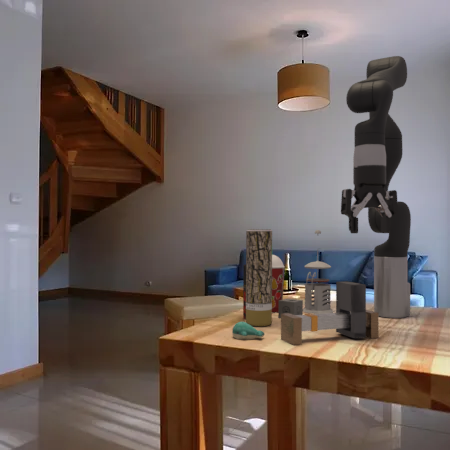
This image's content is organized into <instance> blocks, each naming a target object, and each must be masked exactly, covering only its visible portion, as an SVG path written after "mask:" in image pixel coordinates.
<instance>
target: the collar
mask: <svg viewBox="0 0 450 450" xmlns="http://www.w3.org/2000/svg"><path fill="white" fill-rule="evenodd" d="M335 284H336V285H335V286H336V288H335V293H336V294H335V298H336V299H335V301H336V302H335V309H336V310H335V313H341V312H351V328H339V329H335V333H338V334H341V335H344V336H346V337H349V338H351V339H355V340H357V339H366V338H367V337H366V310H367V296H366V295H367V285H366V284H363V283H358V282H352V281H347V280H345V281H344V280H343V281H336V283H335Z"/></svg>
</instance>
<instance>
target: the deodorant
mask: <svg viewBox="0 0 450 450" xmlns="http://www.w3.org/2000/svg"><path fill="white" fill-rule="evenodd" d="M242 267H243V274H242V275H243V276H242V279H243V283H242V284H243V287H242V288H243V289H242V291H243V296H242V299H243V300H242V301H243V302H242V304H243V306H242V307H243V308H242V310H243V312H242V314H243V315H242V319H243V320H244V321H246V263H245V264H243V266H242Z"/></svg>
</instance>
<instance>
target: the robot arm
mask: <svg viewBox="0 0 450 450" xmlns="http://www.w3.org/2000/svg"><path fill="white" fill-rule="evenodd" d="M407 78H408V66H407V62H406V60H405V58H404V57H403V56H400V55H394V56H388V57H381V58H377V59H371V60H370V61H368V63H367V65H366V79H364V80H361V81H357V82H355V83H353V84H352V85H350V86H349V88H348V91H347V94H346V105H347V107H348V109H349V110H350V111H351V112H352V113H355V114H367V113H368V114H369V119H365V120H364V121H363V120H362V121H360V122H358V123H357V124H355V126H354V148H353V149H354V150H353V157H352V158H353V159H352V160H353V161H352V162H353V169H352V170H353V173H352V174H353V179H352V180H353V186H354V188H353V189H351V188H347V189H346V188H345V189H342V191H341V199H340V201H341V203H340V214H341V215H344V216H346V217H348V231H350V234H358V233H359V217H358V216H359V214H360V212H361V211H363V210H364V209H365V208H366V209H367V219H368V225H369V227H370V230H372V231H373V232H374V233H377V234H388V238H387V240H386V241H384V242H383V243H381V244H378V245H376V246H375V247H374V249H373V300H374V301H373V312H377V313H378V317H382V318H391V319H394V318H395V319H400V318H401V319H402V318H407V317H411V283H410V282H408V252H409V248H410V244H411V243H410V242H411V237H410V236H411V223H412V220H411V219H412V215H411V210H410V207H409V206H408V204H407V203H406V202H404V201H398V191H397V190H396V189H395V190H394V189H393V190H389V186H390V183H391V180H392V178H393V177H394V175H395V173H396V172H397V169H398V168H399V165H400V164H401V161H402V158H403V134H402V131H401V129H400V127H399V126H398V124H397V123H396V122H395V120H394V119H393V117H392V116H391V115H390V114H389V113H390V108H391V107H392V103H393V97H394V91H396V90H397V89H400V88H402V87H404V86H405V85H406V83H407V80H408V79H407ZM353 198H354V199H355V200H354V202H353V203H352V199H353Z"/></svg>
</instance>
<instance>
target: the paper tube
mask: <svg viewBox="0 0 450 450" xmlns="http://www.w3.org/2000/svg"><path fill="white" fill-rule="evenodd" d="M245 235H246V236H245V238H246V239H245V241H246V244H245V245H246V246H245V247H246V249H245V264H246V320H245V322H246V323H247V324H249V325H251V326H252V327H267V326H270V325H272V320H273V317H272V315H273V312H272V255H273V230H272V229H268V228H266V229H265V228H264V229H263V228H261V229H259V228H258V229H257V228H256V229H255V228H253V229H252V228H251V229H250V228H249V229H246V231H245Z"/></svg>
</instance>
